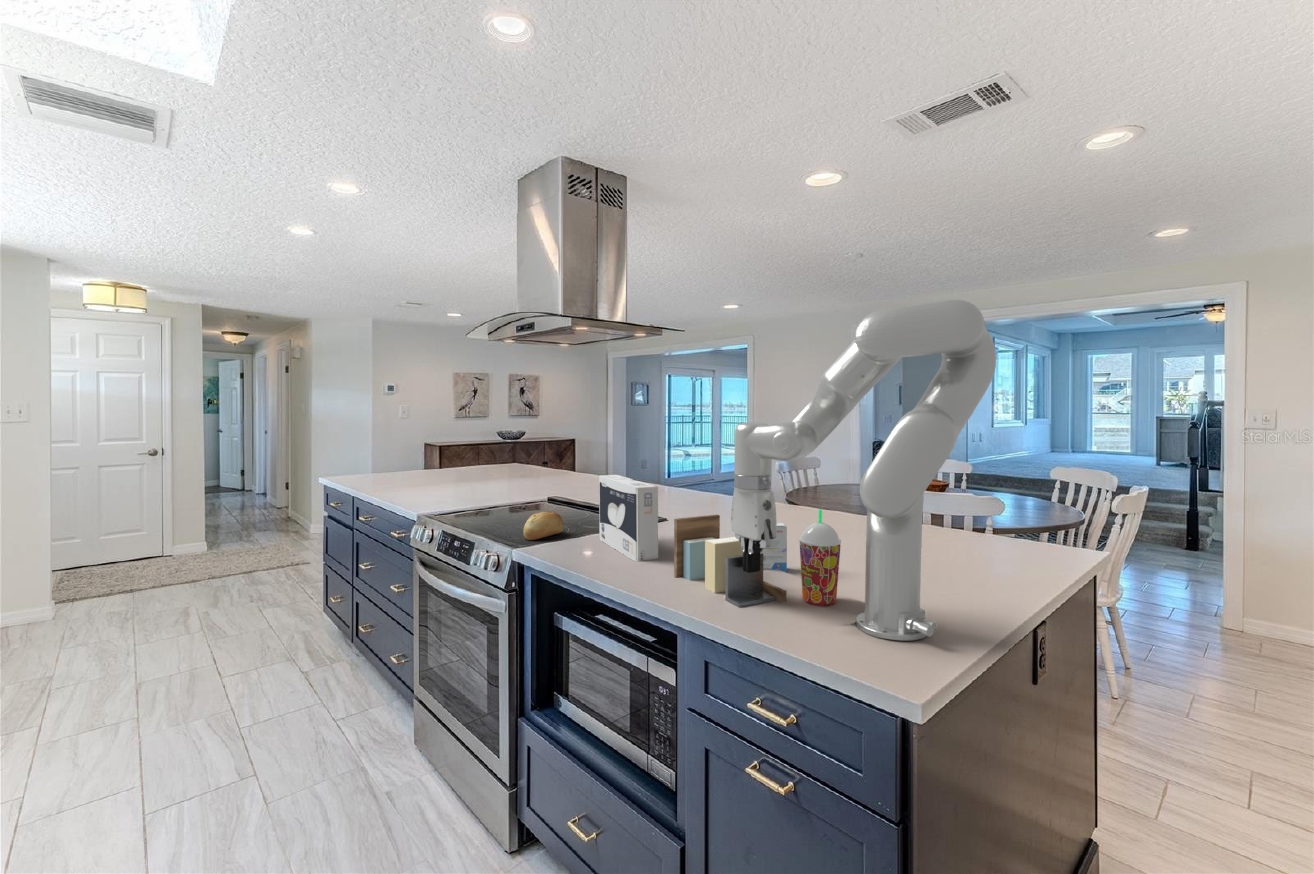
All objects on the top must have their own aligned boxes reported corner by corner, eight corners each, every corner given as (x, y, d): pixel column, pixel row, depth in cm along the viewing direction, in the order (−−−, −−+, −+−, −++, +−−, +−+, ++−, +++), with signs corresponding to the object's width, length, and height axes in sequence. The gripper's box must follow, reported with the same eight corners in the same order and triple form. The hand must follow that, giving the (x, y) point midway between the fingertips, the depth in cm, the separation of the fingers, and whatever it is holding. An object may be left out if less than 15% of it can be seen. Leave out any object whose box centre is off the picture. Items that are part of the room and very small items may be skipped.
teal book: (718, 576, 141) (718, 539, 141) (689, 581, 138) (689, 542, 137) (711, 573, 144) (712, 536, 144) (683, 577, 140) (683, 540, 140)
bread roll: (572, 534, 191) (572, 510, 191) (538, 543, 179) (538, 517, 179) (550, 531, 197) (550, 507, 196) (516, 539, 185) (516, 514, 184)
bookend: (774, 600, 123) (775, 557, 123) (739, 607, 119) (739, 563, 119) (760, 593, 128) (760, 552, 127) (725, 599, 124) (725, 557, 123)
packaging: (599, 539, 183) (598, 475, 182) (617, 537, 186) (617, 474, 185) (637, 563, 156) (637, 487, 155) (658, 560, 159) (658, 486, 157)
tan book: (745, 589, 132) (745, 539, 131) (714, 594, 128) (714, 543, 128) (734, 584, 136) (735, 536, 135) (705, 589, 132) (705, 540, 131)
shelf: (786, 604, 123) (786, 535, 122) (738, 614, 118) (738, 541, 117) (716, 572, 147) (716, 514, 146) (674, 579, 141) (674, 518, 141)
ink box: (784, 567, 151) (785, 521, 151) (786, 573, 146) (787, 525, 146) (750, 566, 152) (751, 521, 152) (751, 572, 147) (752, 525, 147)
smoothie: (790, 601, 126) (791, 507, 124) (823, 596, 128) (824, 505, 127) (814, 614, 118) (815, 514, 117) (848, 609, 121) (850, 511, 120)
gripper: (791, 486, 117) (789, 578, 118) (746, 477, 130) (744, 560, 131) (760, 488, 113) (758, 583, 114) (717, 479, 126) (716, 564, 127)
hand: (751, 570), depth 123 cm, fingers closed
